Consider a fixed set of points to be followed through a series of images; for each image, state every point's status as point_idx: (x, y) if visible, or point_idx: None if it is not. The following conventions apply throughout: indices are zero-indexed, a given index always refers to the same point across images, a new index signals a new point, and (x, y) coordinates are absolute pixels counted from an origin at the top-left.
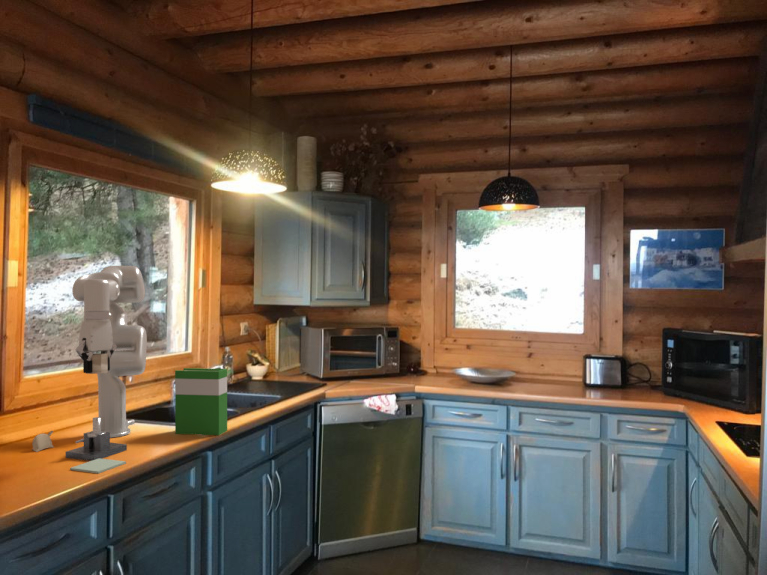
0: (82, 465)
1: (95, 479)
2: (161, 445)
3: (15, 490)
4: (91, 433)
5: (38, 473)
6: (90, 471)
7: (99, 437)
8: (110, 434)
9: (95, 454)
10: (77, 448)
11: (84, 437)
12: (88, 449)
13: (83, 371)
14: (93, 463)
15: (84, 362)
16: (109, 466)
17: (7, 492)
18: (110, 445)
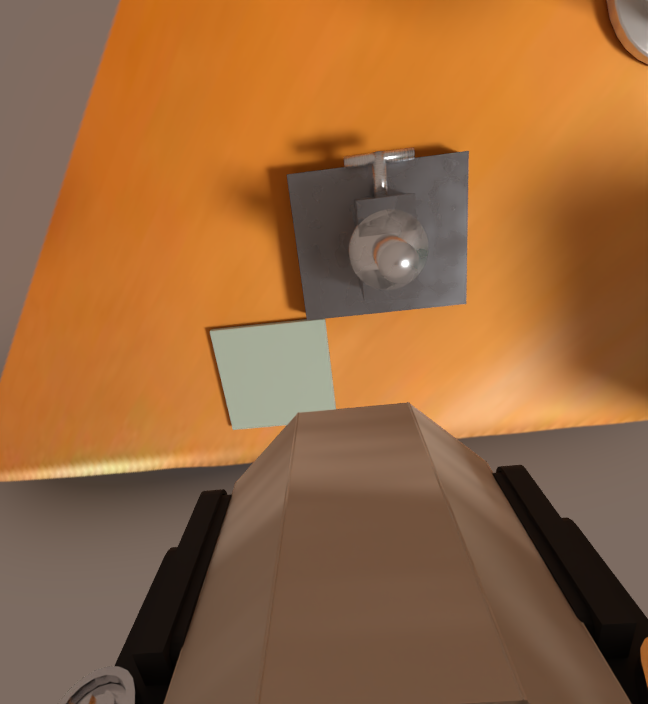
0: (245, 342)
1: (201, 456)
2: (553, 357)
3: (30, 360)
4: (370, 237)
5: (135, 271)
6: (227, 402)
7: (363, 295)
8: (638, 22)
9: (313, 319)
10: (342, 173)
11: (355, 205)
12: (350, 232)
13: (200, 498)
14: (276, 353)
15: (127, 667)
16: (279, 419)
17: (10, 357)
18: (430, 260)
